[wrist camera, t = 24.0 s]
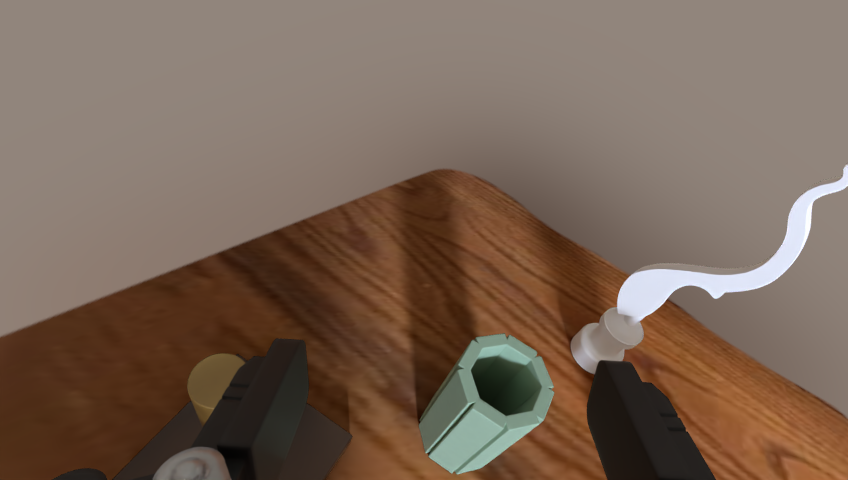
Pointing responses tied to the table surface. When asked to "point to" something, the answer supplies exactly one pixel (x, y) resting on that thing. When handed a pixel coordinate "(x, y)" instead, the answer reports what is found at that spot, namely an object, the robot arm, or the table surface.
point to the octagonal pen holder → (486, 403)
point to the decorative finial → (661, 280)
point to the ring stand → (206, 384)
